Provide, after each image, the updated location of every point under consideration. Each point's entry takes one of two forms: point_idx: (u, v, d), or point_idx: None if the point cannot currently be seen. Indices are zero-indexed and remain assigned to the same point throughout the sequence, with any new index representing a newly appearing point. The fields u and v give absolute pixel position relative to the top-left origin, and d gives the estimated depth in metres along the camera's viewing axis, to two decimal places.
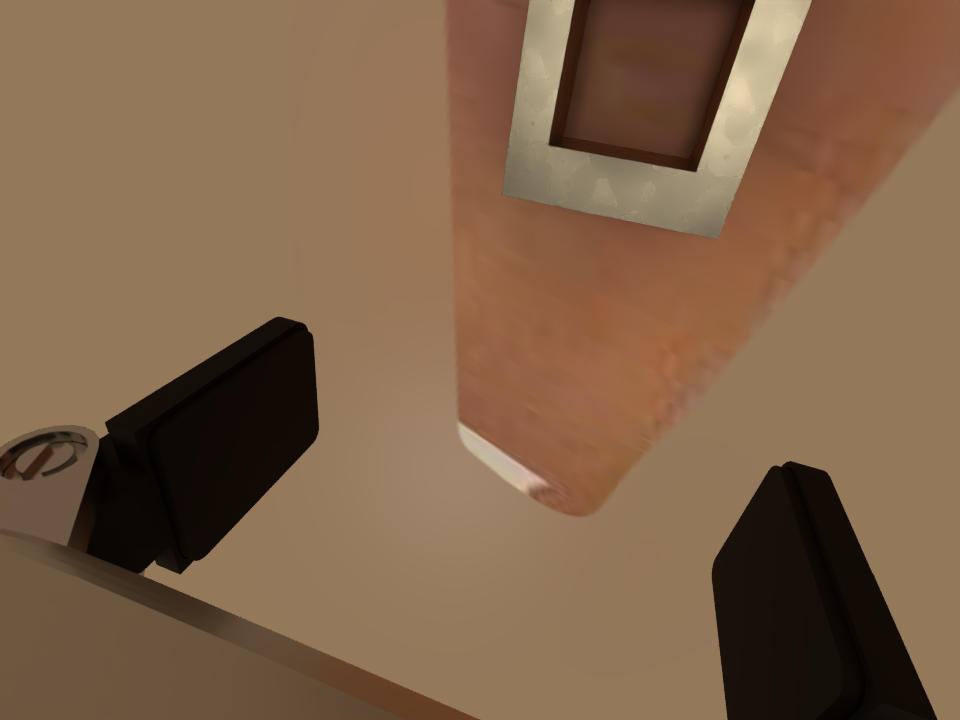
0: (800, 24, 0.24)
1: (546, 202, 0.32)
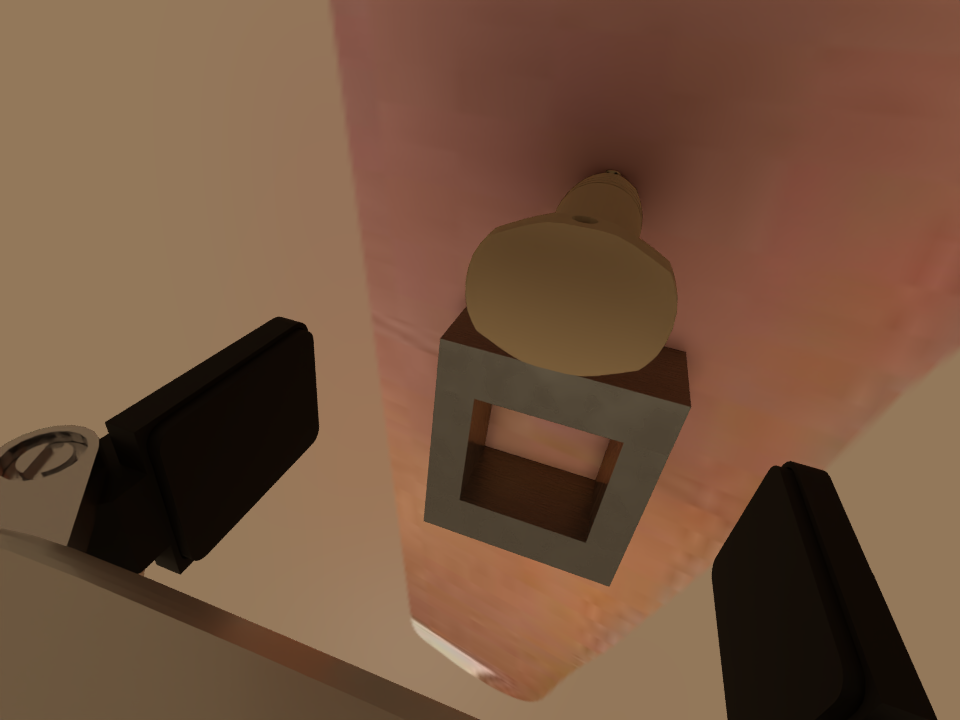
0: (658, 474, 0.28)
1: (462, 533, 0.36)
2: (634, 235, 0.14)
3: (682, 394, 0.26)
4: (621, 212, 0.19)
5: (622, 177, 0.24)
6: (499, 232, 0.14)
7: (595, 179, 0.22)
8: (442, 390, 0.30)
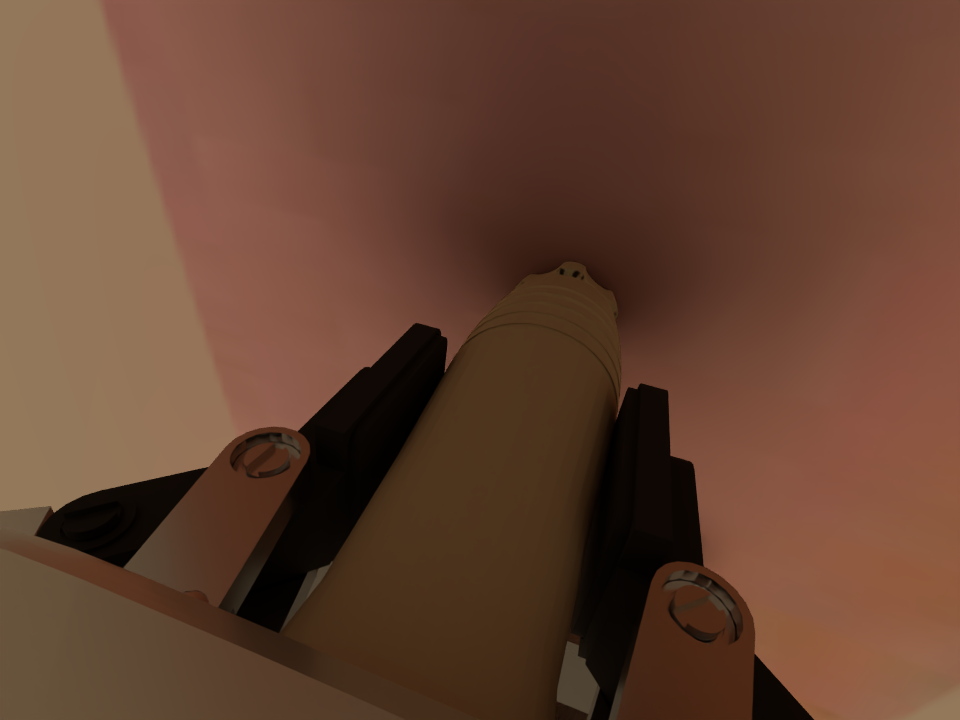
0: None
1: None
2: None
3: None
4: (559, 445, 0.08)
5: (585, 289, 0.13)
6: None
7: (525, 309, 0.11)
8: None
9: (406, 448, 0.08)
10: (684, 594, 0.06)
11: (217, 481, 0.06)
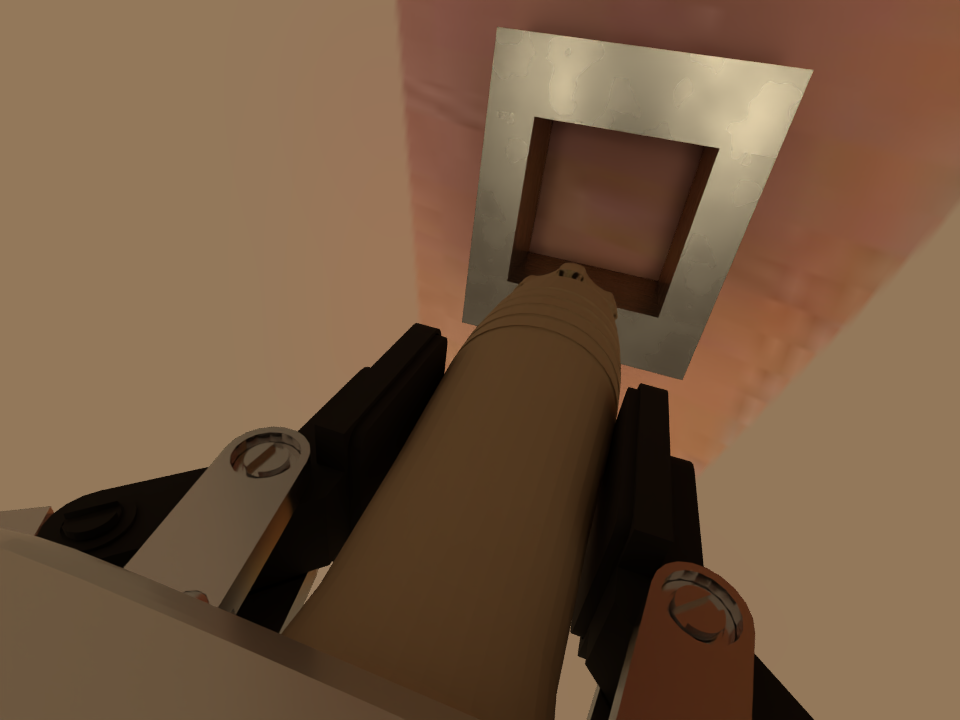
0: (760, 190, 0.23)
1: None
2: None
3: None
4: (558, 448, 0.08)
5: (584, 290, 0.13)
6: None
7: (525, 311, 0.11)
8: (495, 111, 0.25)
9: (405, 451, 0.08)
10: (684, 594, 0.06)
11: (217, 481, 0.06)
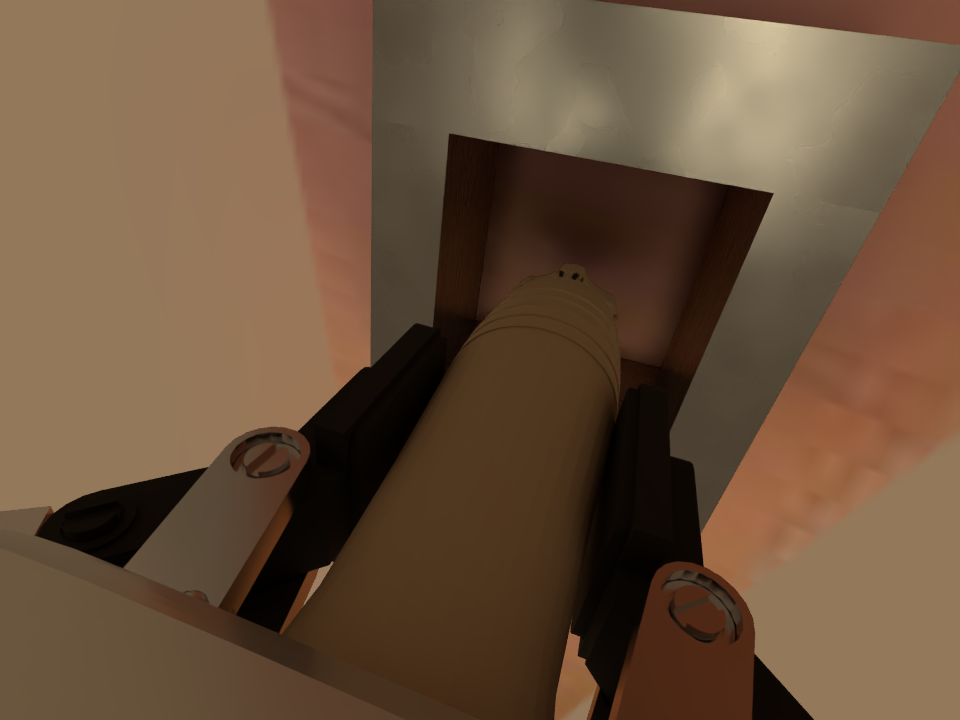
0: (845, 268, 0.13)
1: None
2: None
3: None
4: (558, 449, 0.08)
5: (584, 291, 0.13)
6: None
7: (524, 311, 0.11)
8: (385, 124, 0.15)
9: (405, 452, 0.08)
10: (684, 594, 0.06)
11: (217, 481, 0.06)
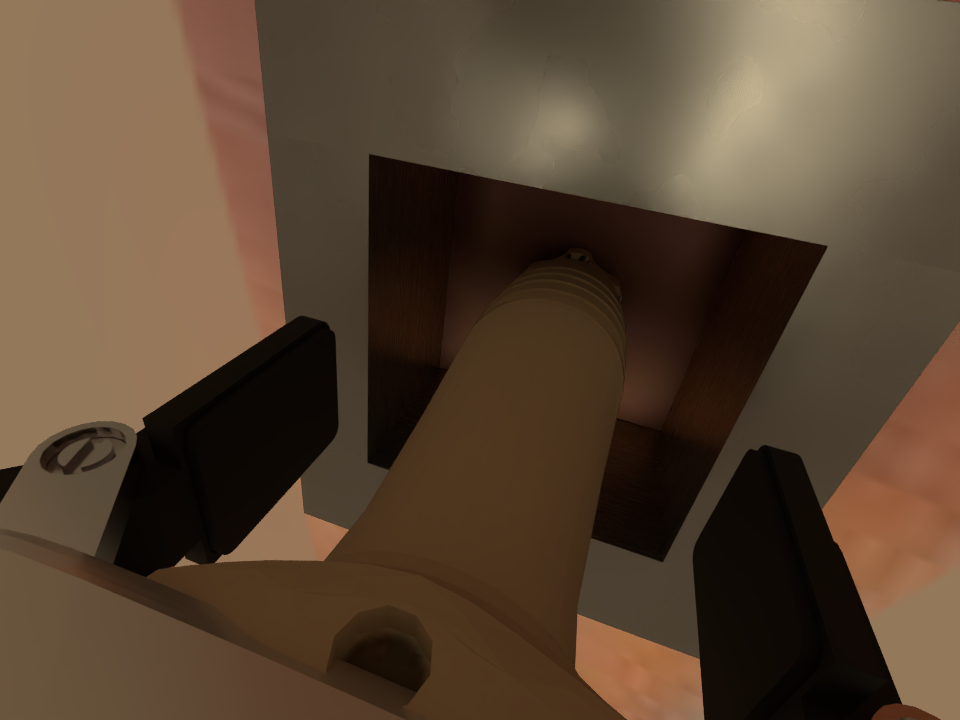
0: (929, 352, 0.09)
1: None
2: None
3: None
4: (573, 400, 0.08)
5: (592, 270, 0.14)
6: None
7: (537, 286, 0.12)
8: (285, 141, 0.11)
9: (433, 405, 0.09)
10: None
11: (17, 477, 0.06)
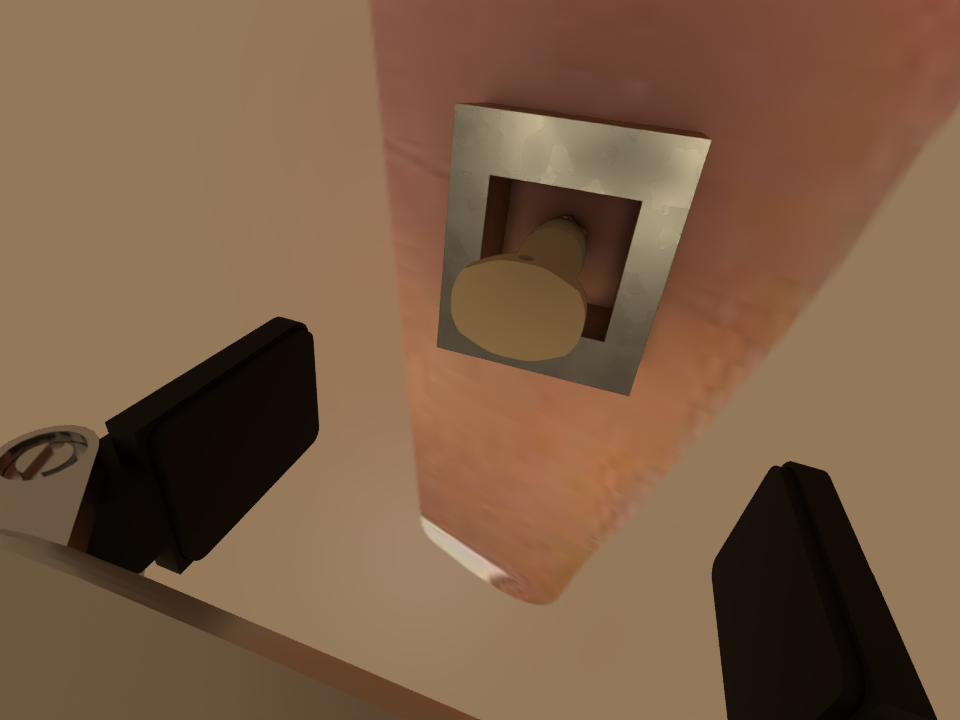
0: (679, 235, 0.27)
1: (476, 356, 0.35)
2: (558, 267, 0.22)
3: (701, 137, 0.26)
4: (561, 250, 0.27)
5: (571, 221, 0.32)
6: (471, 266, 0.22)
7: (549, 224, 0.30)
8: (457, 170, 0.29)
9: (517, 253, 0.27)
10: None
11: None
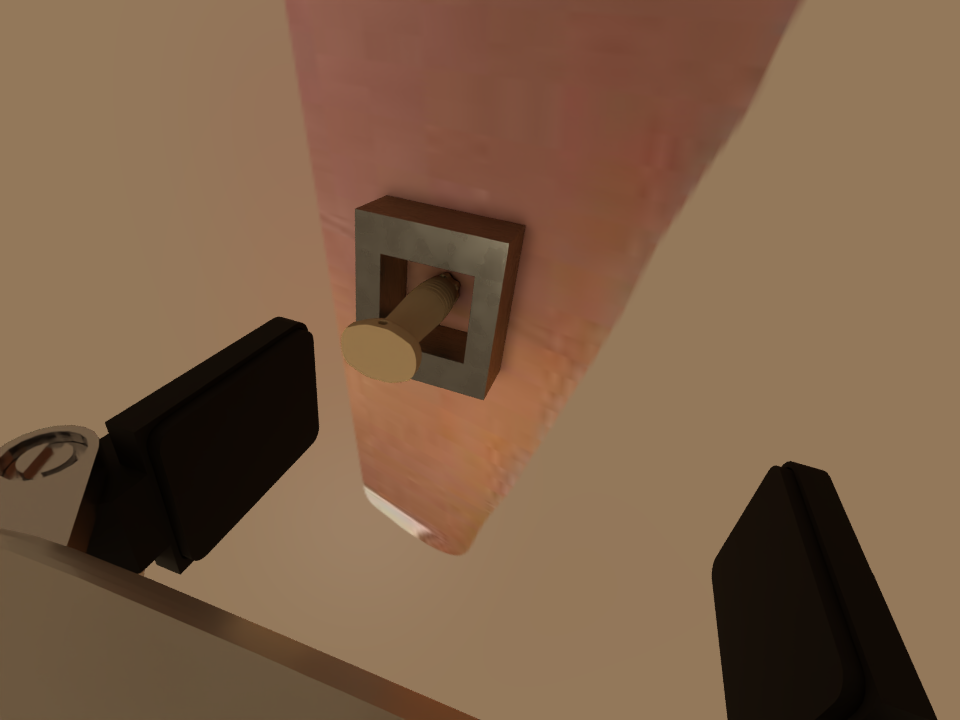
0: (499, 298, 0.42)
1: None
2: (401, 328, 0.37)
3: (507, 239, 0.40)
4: (421, 308, 0.42)
5: (444, 280, 0.47)
6: (350, 326, 0.37)
7: (423, 285, 0.45)
8: (359, 249, 0.44)
9: None
10: None
11: None
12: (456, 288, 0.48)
